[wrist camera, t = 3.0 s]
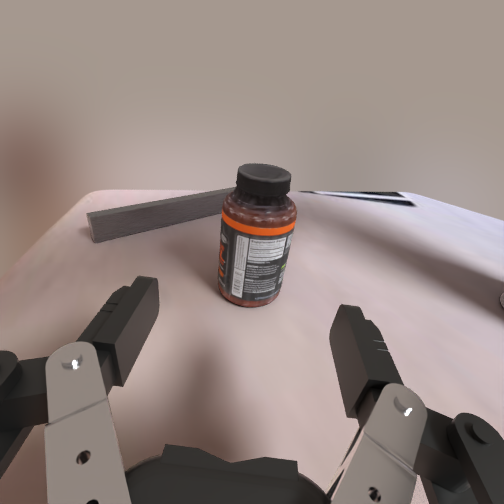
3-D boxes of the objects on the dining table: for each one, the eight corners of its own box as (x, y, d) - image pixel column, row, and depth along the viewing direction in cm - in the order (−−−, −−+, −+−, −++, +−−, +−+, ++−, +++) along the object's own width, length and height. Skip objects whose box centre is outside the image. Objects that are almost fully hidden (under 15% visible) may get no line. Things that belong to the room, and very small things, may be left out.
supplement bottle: (218, 268, 28) (225, 155, 22) (275, 271, 29) (296, 163, 23) (215, 309, 23) (223, 178, 17) (284, 312, 24) (314, 187, 18)
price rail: (233, 205, 43) (234, 186, 41) (239, 208, 42) (241, 189, 40) (91, 237, 31) (85, 212, 29) (95, 243, 30) (89, 217, 28)
